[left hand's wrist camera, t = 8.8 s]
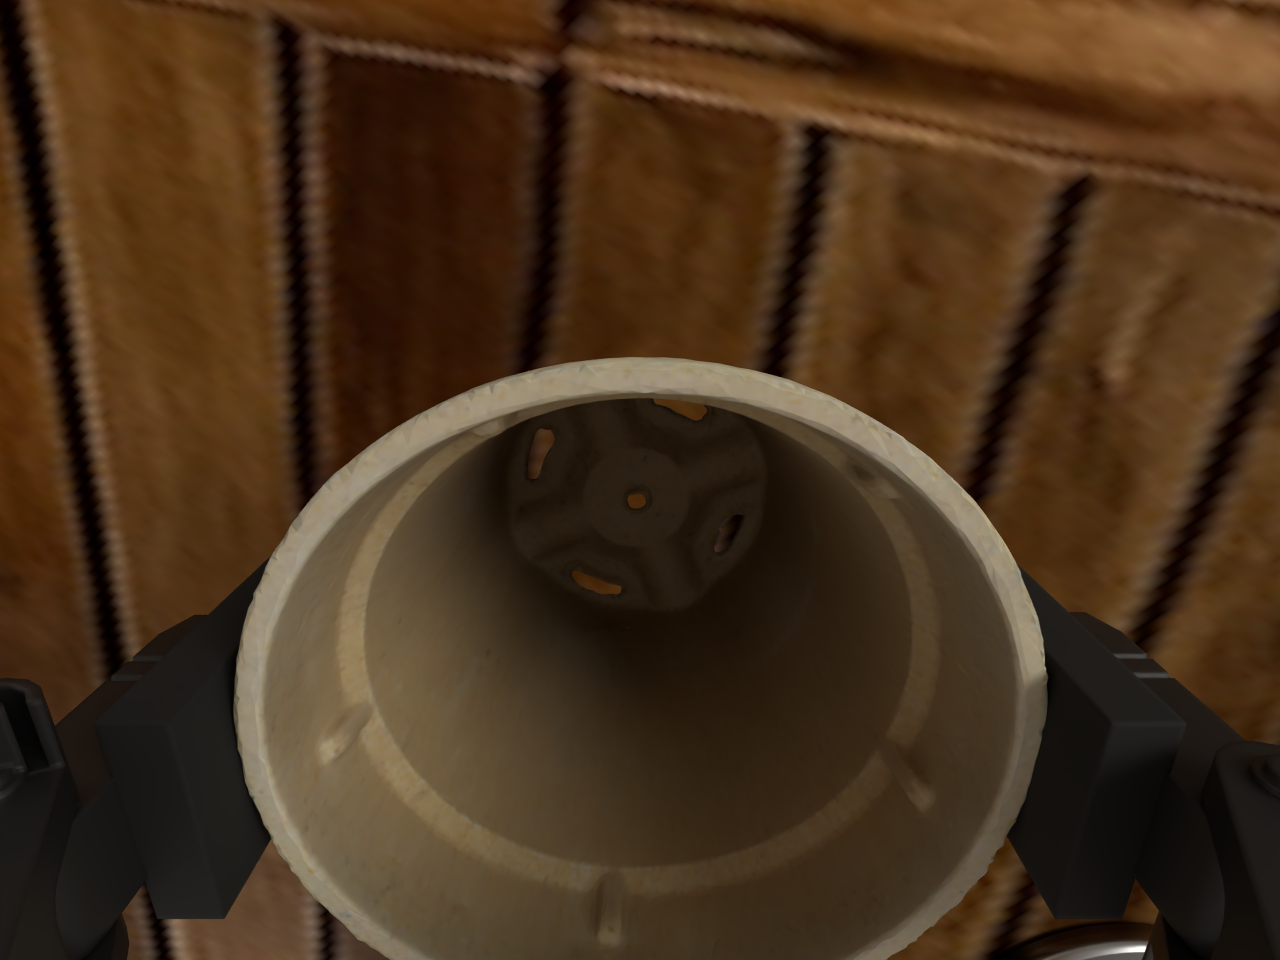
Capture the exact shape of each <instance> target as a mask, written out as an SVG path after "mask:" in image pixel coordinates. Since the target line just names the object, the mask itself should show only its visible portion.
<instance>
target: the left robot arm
mask: <svg viewBox="0 0 1280 960" xmlns="http://www.w3.org/2000/svg"><path fill="white" fill-rule="evenodd" d="M270 558H271V557H269V558H268V559H267V560H266V561H265V562H264V563H263V564H262V565H261V566H260V567H259V568H258V569H257V570H256V571H255V572H253V573H252V574H251V575H250V576H249V577H248V578H247V579H246V580H245V581H244V582H243V583H242V584H241V585H240V586H239V587H237V588H236V589H235V590H234V591H233V592H232V593H231V594H230V595H229V596H228V597H227V598H226V599H225V600H224V601H223V602H221V603H220V604H219V605H218V606H217V607H216V608H215V609H214V610H213V611H212V612H211V613H210V614H209V615H194V616H192V617H190V618H188V619H186V620H184V621H183V622H181V623H179V624H177V625H175V626H173V627H171V628H170V629H168V630H166V631H164V632H162V633H160V634H159V635H158V636H156V637H155V638H154V639H153V640H152V641H151V642H150V643H148V644H147V645H146V646H145V647H144V648H143V649H142V650H141V651H139V652H138V653H137V654H136V655H135V656H134V657H133V661H132V662H127V663H126V664H125V665H124V666H122V667H121V668H120V669H119V670H118V671H117V672H116V673H114V674H113V675H112V676H111V681H105V682H104V683H103V684H102V685H101V686H100V687H99V688H97V689H96V690H95V691H94V692H93V693H92V694H91V695H89V696H88V697H87V698H86V699H85V700H84V701H83V702H82V703H80V704H79V705H78V706H77V707H76V708H75V709H74V710H72V711H71V712H70V713H69V714H68V715H67V716H66V717H65V718H63V719H62V720H61V721H60V722H59V723H58V724H57V725H54V723H53V720H52V717H51V714H50V711H49V709H48V706H47V703H46V700H45V697H44V695H43V692H42V689H41V687H40V686H38V685H37V684H35V683H33V682H31V681H30V680H27V679H12V678H3V679H0V960H127V955H128V947H129V939H128V933H127V927H126V924H125V921H124V918H123V916H122V912H123V911H124V909H125V908H126V906H127V905H128V904H129V902H130V901H131V900H132V898H133V897H134V896H135V894H136V893H137V892H138V890H139V889H140V887H141V886H142V885H143V883H144V882H145V883H146V886H147V889H148V892H149V895H150V898H151V901H152V904H153V907H154V910H155V913H156V916H157V918H158V919H224V918H225V917H226V915H227V913H228V912H229V910H230V908H231V907H232V905H233V903H234V901H235V900H236V898H237V896H238V895H239V893H240V891H241V889H242V888H243V886H244V884H245V883H246V881H247V879H248V878H249V876H250V874H251V872H252V871H253V869H254V867H255V866H256V864H257V862H258V860H259V859H260V857H261V855H262V854H263V852H264V850H265V848H266V847H267V845H268V843H269V842H270V840H271V836H270V833H269V831H268V830H267V828H266V827H265V826H264V824H263V821H262V818H261V814H260V812H259V810H258V808H257V806H256V804H255V802H254V800H253V798H252V797H251V796H250V794H249V791H248V787H247V785H246V783H245V778H244V773H243V766H242V760H241V756H240V753H239V751H238V746H237V735H236V729H235V722H234V711H233V709H234V686H235V674H236V668H237V655H238V651H239V647H240V640H241V634H242V630H243V626H244V622H245V619H246V615H247V612H248V608H249V606H250V604H251V602H252V600H253V596H254V592H255V590H256V589H257V587H258V585H259V583H260V581H261V579H262V577H263V574H264V571H265V567H266V565H267V563H268V561H269V560H270ZM1017 566H1018V568H1019V570H1020V572H1021V577H1022V579H1023V582H1024V584H1025V587H1026V589H1027V591H1028V594H1029V596H1030V598H1031V601H1032V604H1033V606H1034V609H1035V611H1036V614H1037V616H1038V620H1039V625H1040V630H1041V635H1042V637H1043V647H1044V655H1045V668H1046V672H1047V675H1048V680H1047V692H1048V705H1047V715H1046V721H1045V725H1044V728H1043V731H1042V739H1041V743H1040V747H1039V751H1038V755H1037V758H1036V762H1035V766H1034V770H1033V774H1032V778H1031V782H1030V785H1029V787H1028V791H1027V795H1026V799H1025V801H1024V803H1023V805H1022V807H1021V809H1020V811H1019V814H1018V816H1017V819H1016V822H1015V823H1014V824H1013V826H1012V827H1011V828H1010V830H1009V832H1008V834H1007V837H1008V839H1009V841H1010V842H1011V844H1012V846H1013V848H1014V849H1015V851H1016V853H1017V854H1018V856H1019V858H1020V859H1021V861H1022V863H1023V865H1024V866H1025V868H1026V870H1027V871H1028V873H1029V875H1030V877H1031V878H1032V880H1033V882H1034V883H1035V885H1036V887H1037V889H1038V890H1039V892H1040V894H1041V895H1042V897H1043V899H1044V900H1045V902H1046V904H1047V906H1048V907H1049V909H1050V911H1051V912H1052V914H1053V916H1054V918H1055V919H1122V917H1123V914H1124V911H1125V908H1126V905H1127V902H1128V899H1129V896H1130V893H1131V890H1132V887H1133V884H1134V881H1135V879H1136V880H1137V881H1138V883H1139V884H1140V885H1141V887H1142V888H1143V890H1144V891H1145V892H1146V894H1147V895H1148V896H1149V898H1150V899H1151V900H1152V902H1153V903H1154V904H1155V906H1156V907H1157V908H1158V910H1159V913H1158V916H1157V918H1156V921H1155V924H1154V925H1146V924H1126V923H1125V924H1106V925H1097V926H1090V927H1084V928H1079V929H1074V930H1070V931H1066V932H1062V933H1059V934H1055V935H1052V936H1049V937H1046V938H1044V939H1041V940H1038V941H1036V942H1034V943H1031V944H1029V945H1027V946H1025V947H1023V948H1021V949H1019V950H1017V951H1015V952H1013V953H1011V954H1010V955H1008V956H1006V957H1005V958H1003V959H1001V960H1280V746H1279V745H1273V744H1267V743H1261V742H1256V741H1245V740H1244V739H1243V738H1242V737H1241V736H1240V735H1239V734H1238V733H1236V732H1235V731H1234V730H1233V729H1232V728H1231V727H1230V726H1228V725H1227V724H1226V723H1225V722H1224V721H1223V720H1222V719H1220V718H1219V717H1218V716H1217V715H1216V714H1215V713H1214V712H1212V711H1211V710H1210V709H1209V708H1208V707H1207V706H1206V705H1204V704H1203V703H1202V702H1201V701H1200V700H1199V699H1198V698H1196V697H1195V696H1194V695H1193V694H1192V693H1191V692H1190V691H1188V690H1187V689H1186V688H1185V687H1184V686H1183V685H1182V684H1180V683H1179V682H1178V681H1177V680H1176V679H1175V678H1169V673H1168V672H1167V671H1166V670H1164V669H1163V668H1162V667H1161V666H1160V665H1159V664H1158V663H1156V662H1155V661H1154V660H1153V659H1148V658H1147V654H1146V653H1145V652H1144V651H1143V650H1142V649H1140V648H1139V647H1138V646H1137V645H1136V644H1135V643H1134V642H1132V641H1131V640H1130V639H1129V638H1128V637H1127V636H1126V635H1124V634H1123V633H1122V632H1121V631H1119V630H1117V629H1115V628H1113V627H1112V626H1110V625H1108V624H1106V623H1104V622H1102V621H1100V620H1098V619H1097V618H1095V617H1093V616H1091V615H1089V614H1087V613H1085V612H1068V611H1067V610H1065V609H1064V608H1063V607H1062V606H1061V605H1060V604H1059V603H1058V602H1057V601H1056V600H1055V599H1054V598H1053V597H1052V596H1051V595H1050V594H1048V593H1047V592H1046V591H1045V590H1044V589H1043V588H1042V587H1041V586H1040V585H1039V584H1038V583H1037V582H1036V581H1035V580H1034V579H1032V578H1031V577H1030V576H1029V575H1028V574H1027V573H1026V572H1025V571H1024V570H1023V569H1022V568H1021V567H1020V566H1019V565H1018V564H1017Z"/></svg>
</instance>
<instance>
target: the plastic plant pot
mask: <svg viewBox="0 0 1280 960" xmlns="http://www.w3.org/2000/svg"><path fill="white" fill-rule="evenodd" d="M654 398H655V399H670V400H681V401H687V402H692V403H698V404H703V405H704V406H705V407H706V408H707V413H706V414H705V415H704V416H703V418H702V419H701V420H698V421H694V420H691V419H689V418H688V417H686V416H684V415H682V414H679V413H677V412H675V411H673V410H672V409H670V408H668V407H665V406H661V405H657V404H655V403H654V401H653V399H654ZM540 428H543V429H546V430H549V429H551V431H552V433H553V434H554V436H555V441H554V444H553V446H552V447H551V448H550V450H549V452H548V453H547V455H546V457H545V459H544V462H543V465H542V468H541V471H540V474H539V476H538V478H536V479H529V478H527V477H526V475H527V472H528V465H527V460H528V456H529V453H530V449H531V446H532V443H533V440H534V437H535V434H536V432H537V431H538V429H540ZM634 494H643V495H644V496H645V498H646V504H645V506H643V507H642V508H640V509H633V508H631V507H630V506H629V504H628V501H627V498H628V496H629V495H634ZM735 514H740V515H743V519H742V520H741V524H740V526H739V529H738V531H737V533H736V534H735V537H734V539H733V541H732V542H731V544H730V545H729V546H728V547H727V548H726V549H725V550H724V551H721V552H718V553H716V552H715V551H714V546H715V545H716V544H717V542H718V539H719V538H720V536H721V532H720V531H719V527H720V526H721V528H723V527H724V526H725V525H726V524H727V523H728V521H729V520H730V519H731V516H732V515H735ZM574 570H578V571H580V572H582V573H584V574H587V575H589V576H592V577H595V578H597V579H600V580H602V581H605V582H607V583H610V584H614V585H619V586H621V588H622V590H621V593H620V594H600V593H596V592H595V591H593V590H589V589H586V588H584V587H582V586H580V585H579V584H578V583H577V582H576V581H575V580H574V579H573V577H572V572H573V571H574ZM1047 680H1048V675H1047V672H1046V668H1045V655H1044V647H1043V637H1042V635H1041V630H1040V625H1039V620H1038V616H1037V614H1036V611H1035V609H1034V606H1033V604H1032V601H1031V598H1030V596H1029V594H1028V591H1027V589H1026V587H1025V584H1024V582H1023V579H1022V577H1021V572H1020V570H1019V568H1018V566H1017V564H1016V562H1015V560H1014V559H1013V557H1012V555H1011V553H1010V551H1009V549H1008V548H1007V546H1006V545H1005V543H1004V541H1003V540H1002V538H1001V537H1000V535H999V534H998V532H997V531H996V530H995V528H994V527H993V525H992V524H991V522H990V521H989V520H988V518H987V517H986V515H985V514H984V513H983V511H982V510H981V509H980V507H979V506H978V505H977V503H976V502H975V501H974V500H973V499H972V498H971V497H970V496H969V495H968V494H967V493H966V492H965V490H964V489H963V488H962V487H961V486H960V485H959V484H958V483H957V482H956V481H954V480H953V479H952V478H951V477H950V476H949V475H948V474H947V473H946V472H945V471H944V470H943V469H941V468H940V467H939V466H938V465H937V464H936V463H935V462H934V461H933V460H932V459H931V458H930V457H928V456H927V455H926V454H925V453H923V452H922V451H921V450H919V449H918V448H916V447H915V446H914V445H912V444H911V443H909V442H908V441H906V440H905V439H904V438H903V437H902V436H900V435H899V434H897V433H896V432H894V431H892V430H891V429H889V428H888V427H886V426H884V425H883V424H881V423H880V422H878V421H876V420H874V419H873V418H871V417H869V416H867V415H866V414H864V413H862V412H860V411H858V410H857V409H855V408H853V407H851V406H849V405H847V404H845V403H843V402H841V401H839V400H837V399H835V398H833V397H831V396H829V395H827V394H824V393H821V392H819V391H816V390H814V389H811V388H809V387H806V386H804V385H801V384H799V383H796V382H793V381H791V380H788V379H784V378H781V377H777V376H773V375H769V374H765V373H761V372H757V371H754V370H749V369H743V368H736V367H732V366H728V365H723V364H718V363H710V362H700V361H693V360H687V359H677V358H664V357H661V358H640V357H626V358H609V359H597V360H589V361H580V362H571V363H565V364H559V365H554V366H549V367H544V368H540V369H536V370H532V371H528V372H524V373H521V374H517V375H513V376H509V377H505V378H502V379H499V380H496V381H493V382H490V383H487V384H484V385H481V386H478V387H475V388H473V389H471V390H469V391H466V392H464V393H462V394H460V395H457V396H455V397H453V398H451V399H449V400H446V401H444V402H442V403H440V404H438V405H436V406H434V407H432V408H430V409H428V410H426V411H424V412H422V413H421V414H419V415H417V416H415V417H413V418H411V419H410V420H408V421H406V422H405V423H403V424H401V425H400V426H398V427H396V428H395V429H393V430H392V431H390V432H389V433H387V434H386V435H384V436H383V437H381V438H380V439H379V440H377V441H376V442H374V443H373V444H372V445H370V446H369V447H368V448H366V449H365V450H364V451H362V452H361V453H360V454H359V455H357V456H356V457H355V458H354V459H353V460H351V461H350V462H349V463H348V464H347V465H346V466H344V467H343V468H341V469H340V470H339V471H337V472H336V473H335V474H334V475H333V476H332V477H331V478H330V479H329V480H328V481H327V482H326V483H325V484H324V485H323V486H322V487H321V489H320V490H319V491H318V492H317V493H316V494H315V495H314V496H313V497H312V498H311V500H310V501H309V502H308V503H307V505H306V506H305V507H304V509H303V510H302V511H301V512H300V514H299V515H298V517H297V518H296V519H295V520H294V522H293V523H292V525H291V526H290V528H289V530H288V532H287V533H286V535H285V537H284V539H283V540H282V541H281V543H280V544H279V545H278V547H277V548H276V549H275V551H274V553H273V554H272V556H271V558H270V560H269V561H268V563H267V565H266V567H265V571H264V574H263V577H262V579H261V581H260V583H259V585H258V587H257V589H256V590H255V592H254V596H253V600H252V602H251V604H250V606H249V608H248V612H247V615H246V619H245V622H244V626H243V630H242V634H241V640H240V647H239V651H238V655H237V668H236V674H235V686H234V709H233V711H234V722H235V729H236V735H237V746H238V751H239V753H240V756H241V760H242V766H243V773H244V778H245V783H246V785H247V787H248V791H249V794H250V796H251V797H252V798H253V800H254V802H255V804H256V806H257V808H258V810H259V812H260V814H261V818H262V821H263V824H264V826H265V827H266V828H267V830H268V831H269V833H270V836H271V838H272V840H273V843H274V844H275V846H276V848H277V850H278V853H279V854H280V855H281V857H282V858H283V859H284V860H285V861H286V862H287V863H288V864H289V866H290V869H291V871H292V872H293V873H295V874H296V875H297V876H298V877H299V879H300V881H301V882H302V884H303V885H304V886H305V887H306V888H307V890H308V891H309V892H310V893H311V894H312V895H313V896H314V898H315V899H316V900H317V901H318V902H320V903H321V904H322V905H323V906H325V907H326V908H327V909H328V910H329V912H330V913H331V914H332V915H334V916H335V917H336V918H337V919H339V920H340V921H341V922H342V923H343V924H344V925H345V926H346V927H347V928H348V929H349V930H350V931H351V932H352V934H353V935H354V936H355V937H356V938H357V939H358V940H360V941H363V942H366V943H367V944H368V945H369V946H370V947H371V948H373V949H376V950H378V951H379V952H380V953H381V954H383V955H384V956H385V957H387V958H389V959H391V960H887V959H888V958H889V957H890V956H891V955H893V954H895V953H897V952H899V951H901V950H903V949H905V948H906V947H907V945H908V944H910V943H911V942H914V941H916V940H917V938H918V936H920V935H922V933H923V932H924V931H925V930H927V929H928V928H929V927H933V926H934V925H935V924H936V922H937V921H938V920H939V919H940V918H941V917H942V916H943V915H944V914H945V913H947V912H948V911H949V910H950V909H952V908H953V907H955V906H957V905H958V904H959V903H960V901H961V900H962V899H963V897H964V896H965V894H966V893H967V891H968V890H969V889H970V888H971V886H973V885H975V884H976V883H977V881H978V880H979V879H980V878H981V877H982V876H983V875H984V874H986V873H987V870H988V866H989V864H991V863H992V862H993V861H994V855H995V853H996V851H997V850H998V849H999V848H1001V847H1002V846H1003V845H1004V842H1005V838H1006V836H1007V834H1008V832H1009V830H1010V828H1011V827H1012V826H1013V824H1014V823H1015V822H1016V819H1017V816H1018V814H1019V811H1020V809H1021V807H1022V805H1023V803H1024V801H1025V799H1026V795H1027V791H1028V787H1029V785H1030V782H1031V778H1032V774H1033V770H1034V766H1035V762H1036V758H1037V755H1038V751H1039V747H1040V743H1041V739H1042V731H1043V728H1044V725H1045V721H1046V715H1047V705H1048V692H1047Z"/></svg>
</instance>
